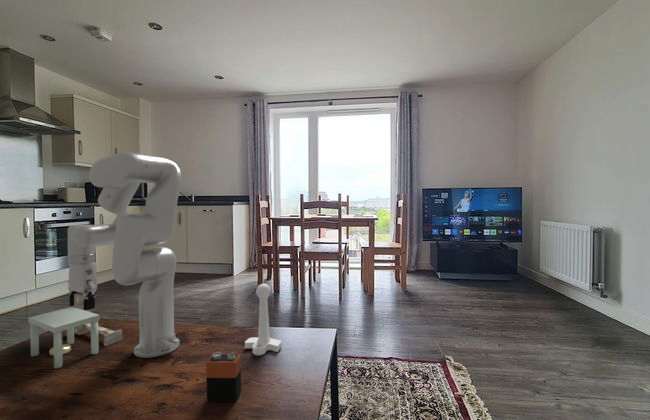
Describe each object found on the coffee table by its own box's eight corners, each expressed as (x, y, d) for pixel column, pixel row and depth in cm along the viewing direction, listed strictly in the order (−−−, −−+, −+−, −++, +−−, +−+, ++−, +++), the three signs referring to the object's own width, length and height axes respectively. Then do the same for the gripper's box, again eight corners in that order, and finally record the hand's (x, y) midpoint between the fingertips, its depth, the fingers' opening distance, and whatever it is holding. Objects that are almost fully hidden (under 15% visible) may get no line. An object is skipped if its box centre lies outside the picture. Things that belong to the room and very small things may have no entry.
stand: (100, 352, 94) (99, 314, 94) (55, 369, 85) (54, 327, 84) (72, 341, 102) (72, 306, 102) (29, 355, 93) (28, 317, 92)
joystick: (283, 346, 97) (282, 283, 96) (274, 358, 89) (273, 289, 89) (251, 343, 99) (250, 281, 99) (239, 354, 92) (238, 287, 92)
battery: (213, 391, 74) (213, 349, 74) (241, 391, 74) (241, 349, 73) (206, 402, 70) (205, 358, 69) (235, 403, 69) (235, 359, 69)
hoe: (122, 340, 103) (121, 298, 102) (106, 346, 98) (105, 302, 98) (89, 328, 113) (88, 290, 112) (73, 333, 108) (72, 294, 108)
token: (74, 351, 96) (74, 346, 96) (54, 358, 91) (53, 353, 91) (66, 347, 98) (66, 343, 98) (46, 354, 94) (46, 349, 94)
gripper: (106, 260, 109) (106, 308, 109) (81, 255, 117) (82, 300, 117) (81, 263, 102) (82, 314, 102) (57, 258, 110) (57, 306, 111)
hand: (82, 307), depth 110 cm, fingers open, 9 cm apart
